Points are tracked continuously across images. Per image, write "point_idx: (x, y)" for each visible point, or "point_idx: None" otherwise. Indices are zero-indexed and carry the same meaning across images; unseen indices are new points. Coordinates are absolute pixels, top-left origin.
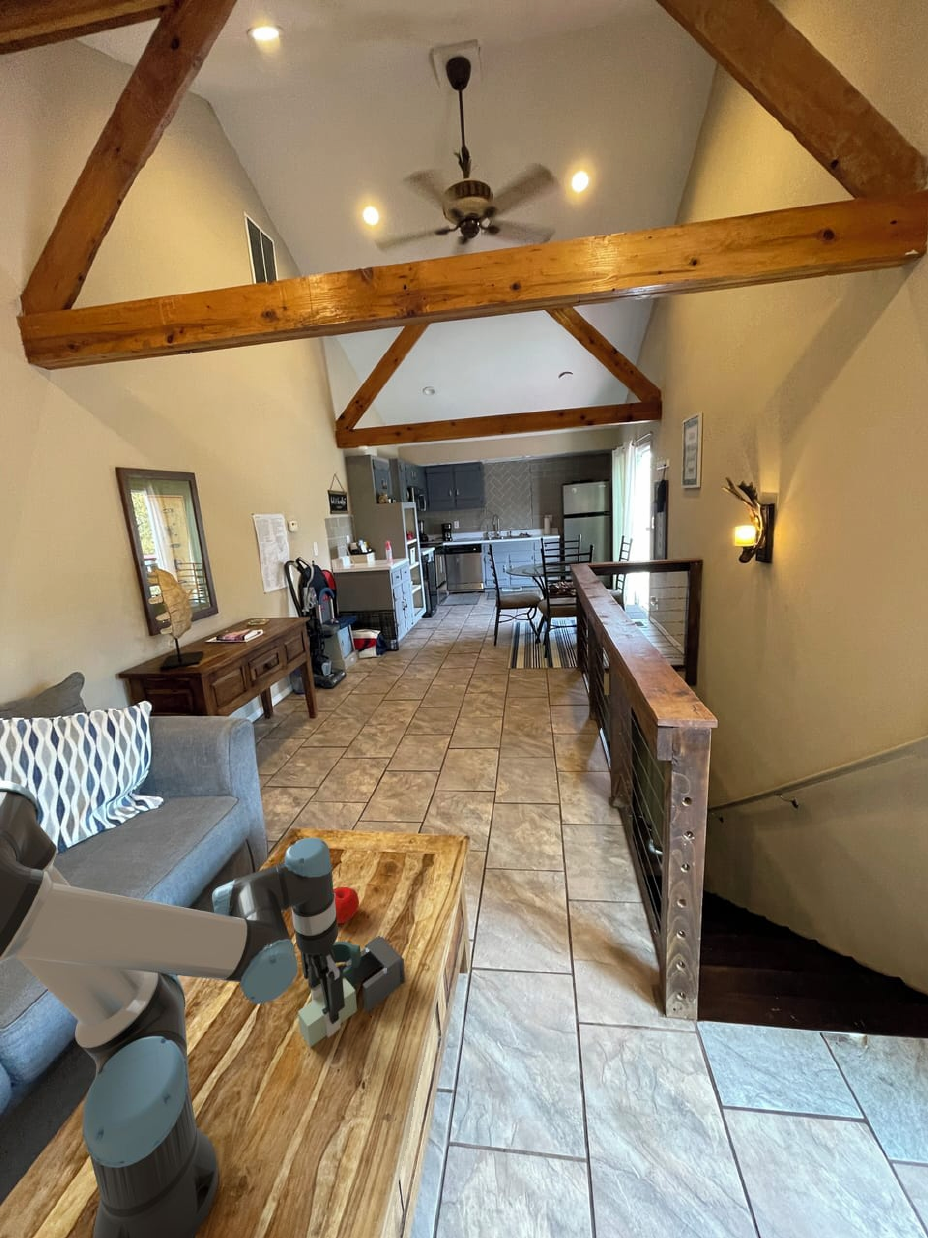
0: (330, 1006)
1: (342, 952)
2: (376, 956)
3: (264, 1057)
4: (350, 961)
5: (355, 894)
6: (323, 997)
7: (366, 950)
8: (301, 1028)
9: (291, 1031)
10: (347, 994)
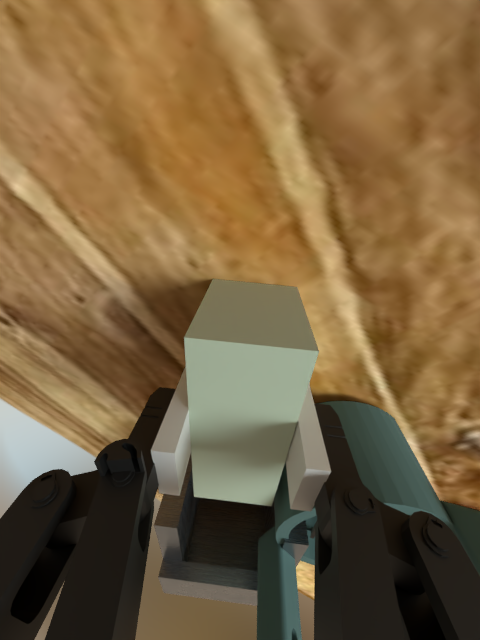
0: (10, 556)
1: None
2: (224, 586)
3: (348, 95)
4: (294, 551)
5: None
6: (124, 566)
7: None
8: (281, 301)
9: (332, 266)
10: (199, 483)
